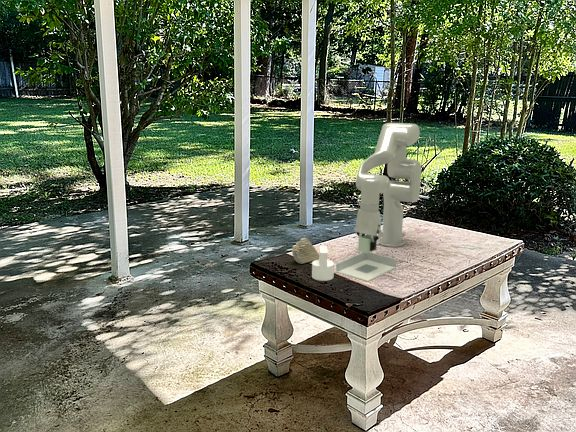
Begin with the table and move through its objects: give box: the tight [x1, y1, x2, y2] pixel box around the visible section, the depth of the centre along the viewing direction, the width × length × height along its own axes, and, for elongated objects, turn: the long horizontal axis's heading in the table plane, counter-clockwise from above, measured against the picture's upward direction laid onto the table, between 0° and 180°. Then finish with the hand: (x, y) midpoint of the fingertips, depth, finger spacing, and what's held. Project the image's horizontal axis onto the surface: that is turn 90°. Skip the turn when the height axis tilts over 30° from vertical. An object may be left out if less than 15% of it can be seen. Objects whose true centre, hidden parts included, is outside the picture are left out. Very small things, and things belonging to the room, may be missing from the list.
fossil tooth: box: [291, 237, 319, 265], centre depth 242 cm, size 12×6×15 cm
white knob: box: [311, 245, 335, 282], centre depth 224 cm, size 9×9×12 cm
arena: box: [335, 251, 398, 283], centre depth 233 cm, size 22×16×4 cm
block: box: [357, 234, 378, 253], centre depth 230 cm, size 5×7×6 cm, turn 138°
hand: (367, 248), depth 230 cm, fingers closed on block, 4 cm apart
